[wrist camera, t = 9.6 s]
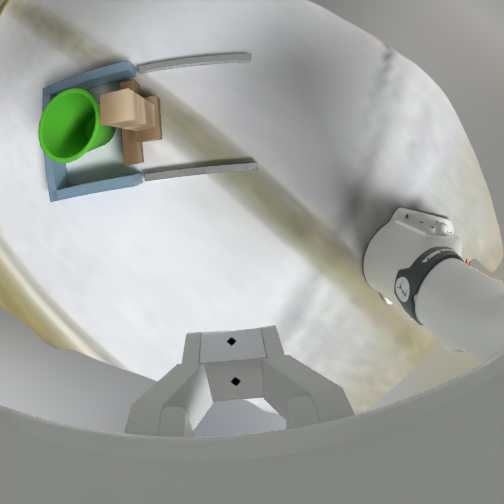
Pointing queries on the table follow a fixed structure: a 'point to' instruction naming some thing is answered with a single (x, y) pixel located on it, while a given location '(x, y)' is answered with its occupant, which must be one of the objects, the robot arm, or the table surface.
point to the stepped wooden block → (132, 118)
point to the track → (192, 62)
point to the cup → (72, 126)
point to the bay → (58, 170)
